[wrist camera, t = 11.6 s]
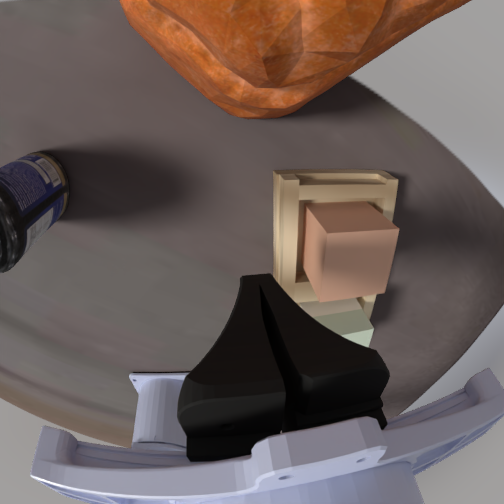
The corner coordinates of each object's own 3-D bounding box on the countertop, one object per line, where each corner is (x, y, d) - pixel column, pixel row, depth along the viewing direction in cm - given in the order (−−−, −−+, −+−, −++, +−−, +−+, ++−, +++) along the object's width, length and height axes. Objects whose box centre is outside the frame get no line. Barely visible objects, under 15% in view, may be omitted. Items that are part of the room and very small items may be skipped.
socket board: (352, 334, 30) (361, 352, 28) (272, 346, 29) (276, 366, 27) (382, 170, 21) (400, 179, 19) (273, 170, 20) (281, 180, 18)
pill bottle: (11, 158, 17) (-81, 211, 7) (65, 143, 17) (-33, 191, 8) (26, 225, 20) (-47, 301, 10) (79, 218, 20) (8, 304, 11)
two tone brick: (351, 291, 25) (374, 328, 21) (343, 330, 28) (361, 367, 23) (298, 298, 25) (313, 340, 20) (295, 338, 27) (308, 378, 23)
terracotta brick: (357, 257, 23) (384, 292, 19) (301, 263, 23) (319, 302, 19) (365, 201, 21) (399, 228, 17) (303, 203, 20) (327, 233, 16)
